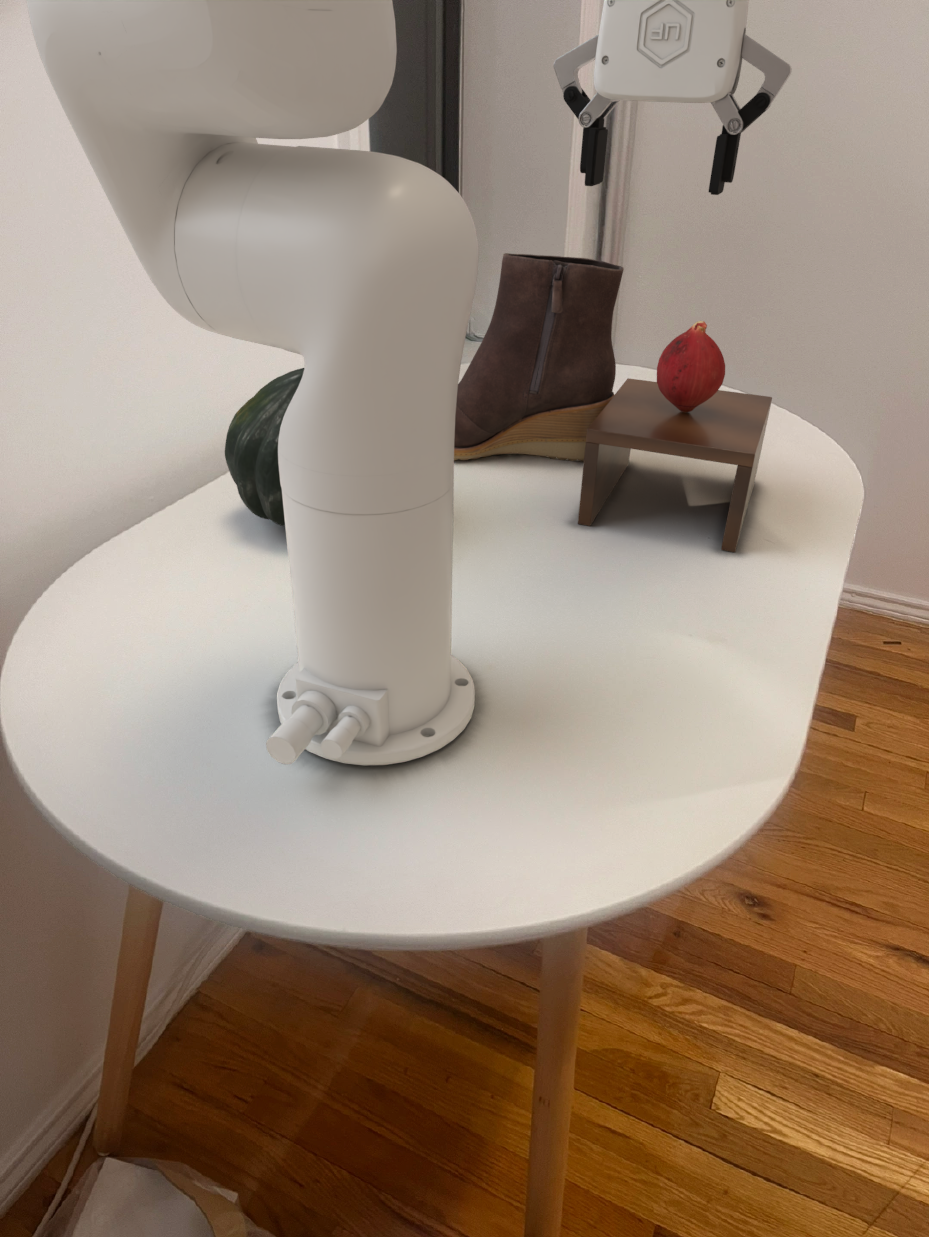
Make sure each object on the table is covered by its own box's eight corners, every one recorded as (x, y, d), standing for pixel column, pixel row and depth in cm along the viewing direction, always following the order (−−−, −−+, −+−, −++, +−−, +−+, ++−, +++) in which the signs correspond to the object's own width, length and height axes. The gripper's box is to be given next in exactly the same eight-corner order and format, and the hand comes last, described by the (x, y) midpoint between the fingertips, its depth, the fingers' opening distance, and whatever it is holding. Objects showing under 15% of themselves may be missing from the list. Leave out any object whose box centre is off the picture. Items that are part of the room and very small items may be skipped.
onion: (669, 425, 77) (682, 331, 72) (640, 404, 81) (652, 314, 77) (728, 420, 78) (746, 327, 74) (697, 399, 83) (711, 311, 78)
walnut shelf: (734, 552, 76) (755, 454, 71) (577, 523, 80) (586, 428, 75) (754, 484, 89) (772, 396, 84) (617, 462, 93) (627, 378, 88)
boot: (391, 430, 100) (386, 239, 89) (605, 442, 98) (627, 248, 87) (377, 459, 92) (369, 255, 82) (608, 472, 91) (632, 265, 80)
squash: (299, 413, 87) (232, 320, 73) (438, 442, 83) (395, 349, 69) (246, 542, 84) (166, 471, 70) (389, 578, 80) (333, 510, 66)
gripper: (550, -95, 60) (533, 185, 69) (818, -104, 54) (762, 201, 63) (580, -78, 66) (561, 178, 75) (824, -84, 60) (772, 192, 69)
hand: (653, 188), depth 69 cm, fingers open, 9 cm apart
